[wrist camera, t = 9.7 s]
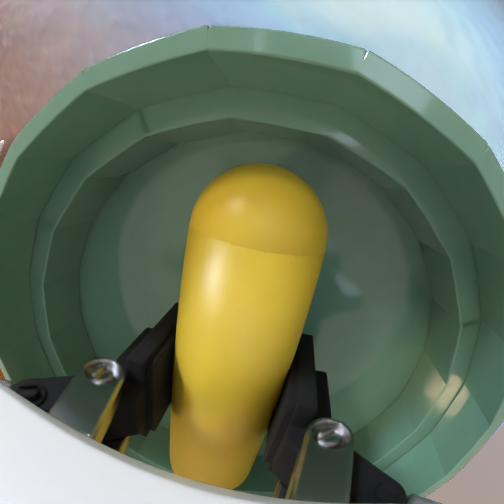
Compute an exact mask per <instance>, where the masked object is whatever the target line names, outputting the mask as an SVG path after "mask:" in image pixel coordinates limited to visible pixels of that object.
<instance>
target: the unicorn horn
mask: <svg viewBox="0 0 504 504" xmlns="http://www.w3.org/2000/svg"><path fill="white" fill-rule="evenodd" d="M3 145H4V140H2V141H1V142H0V154H1V150H2V148H3Z"/></svg>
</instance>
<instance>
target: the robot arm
mask: <svg viewBox="0 0 504 504" xmlns="http://www.w3.org/2000/svg"><path fill="white" fill-rule="evenodd" d="M178 306H179V303H178V302H176V303H175V304H174V305H173V307H172V308H171V309H170V310H169V311H168V312H167V313H166V314H165V315H164V316H163V317H162V319H161V320H160V321H159V322H158V323H157V324H156V325H155V326H154V327H153V328H149V327H148V328H146V329H145V330H144V331H143V332H142V333H141V334H140V335H139V336H138V337H137V338H136V339H135V340H134V341H133V342H132V343H131V344H130V346H129V347H128V348H127V349H126V350H125V351H124V352H123V353H122V354H121V355H120V356H119V357H118V358H117V359H116V361H115V360H113V359H110V358H105V357H97V358H92V359H90V360H88V361H86V362H85V363H84V364H83V365H82V366H81V367H80V368H79V370H78V371H77V373H76V374H75V375H72V376H61V377H48V378H32V379H24V380H21V381H19V382H17V383H16V384H15V385H14V384H13V381H9V380H3V379H0V504H441V503H438V502H435V501H432V500H429V499H427V498H424V497H421V496H418V495H416V494H413V493H412V494H411V495H406V493H405V490H404V488H403V487H402V485H400V484H399V483H398V482H397V481H396V480H394V479H393V478H391V477H390V476H388V475H387V474H386V473H384V472H383V471H381V470H380V469H379V468H377V467H376V466H375V465H373V464H372V463H370V462H369V461H368V460H366V459H365V458H364V457H362V456H361V455H360V454H358V453H357V452H356V451H354V435H353V433H352V431H351V429H350V428H349V427H348V426H347V425H346V424H344V423H343V422H341V421H339V420H336V419H333V418H332V416H331V406H330V397H329V388H328V379H327V373H326V372H323V371H317V370H315V357H314V345H313V336H312V335H308V334H303V333H302V334H301V337H300V340H299V343H298V346H297V349H296V352H295V355H294V358H293V361H292V364H291V367H290V369H289V372H288V375H287V378H286V381H285V384H284V386H283V389H282V392H281V395H280V397H279V400H278V403H277V406H276V408H275V411H274V413H273V416H272V419H271V421H270V424H269V426H268V431H267V438H266V444H265V451H264V457H263V462H268V469H267V471H271V472H272V473H273V474H274V475H275V476H276V477H277V478H278V479H279V480H278V481H277V484H276V487H275V490H274V493H273V496H272V497H267V496H261V495H255V494H250V493H244V492H240V491H235V490H230V489H226V488H222V487H218V486H214V485H210V484H206V483H203V482H199V481H196V480H192V479H189V478H186V477H182V476H179V475H176V474H173V473H170V472H167V471H165V470H162V469H159V468H156V467H154V466H151V465H149V464H146V463H143V462H141V461H139V460H136V459H134V458H131V457H129V456H127V455H125V454H126V451H127V448H128V445H129V443H130V440H131V436H133V435H138V434H140V435H142V436H145V437H147V435H148V433H149V431H150V430H152V431H155V430H156V429H157V427H158V425H159V423H160V421H161V420H162V418H163V416H164V414H165V412H166V411H167V409H168V407H169V405H170V403H171V394H172V377H173V362H174V349H175V337H176V326H177V316H178Z"/></svg>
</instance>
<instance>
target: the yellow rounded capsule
mask: <svg viewBox="0 0 504 504" xmlns="http://www.w3.org/2000/svg"><path fill="white" fill-rule="evenodd" d="M327 240H328V228H327V219H326V215H325V211H324V208H323V206H322V204H321V202H320V200H319V198H318V196H317V194H316V193H315V192H314V190H313V189H312V188H311V187H310V185H309V184H308V183H307V182H305V181H304V180H303V179H302V178H301V177H300V176H298V175H297V174H295V173H293V172H291V171H289V170H288V169H286V168H283V167H279V166H276V165H273V164H265V163H252V164H244V165H241V166H237V167H234V168H231V169H229V170H227V171H225V172H224V173H222V174H220V175H218V176H217V177H216V178H215V179H214V180H212V181H211V182H210V183H209V184H208V185H207V186H206V188H205V189H204V190H203V191H202V193H201V194H200V195H199V197H198V199H197V201H196V203H195V205H194V208H193V211H192V215H191V219H190V222H189V228H188V235H187V242H186V249H185V256H184V264H183V272H182V280H181V288H180V297H179V306H178V316H177V326H176V337H175V349H174V362H173V377H172V394H171V417H170V462H171V467H172V469H173V471H174V473H175V474H176V475H179V476H182V477H186V478H189V479H192V480H196V481H199V482H203V483H206V484H210V485H214V486H218V487H222V488H226V489H230V490H233V489H234V488H236V487H238V486H239V485H240V484H242V483H243V482H244V480H245V479H246V478H247V476H248V475H249V473H250V470H251V468H252V466H253V464H254V461H255V459H256V456H257V454H258V452H259V449H260V447H261V444H262V442H263V439H264V437H265V435H266V432H267V429H268V426H269V424H270V421H271V419H272V416H273V413H274V411H275V408H276V406H277V403H278V400H279V397H280V395H281V392H282V389H283V386H284V384H285V381H286V378H287V375H288V372H289V369H290V367H291V364H292V361H293V358H294V355H295V352H296V349H297V346H298V343H299V340H300V337H301V334H302V331H303V328H304V325H305V321H306V318H307V315H308V312H309V308H310V305H311V302H312V298H313V295H314V292H315V288H316V285H317V281H318V278H319V274H320V271H321V267H322V263H323V260H324V256H325V252H326V246H327Z"/></svg>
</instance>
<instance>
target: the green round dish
mask: <svg viewBox="0 0 504 504" xmlns="http://www.w3.org/2000/svg"><path fill="white" fill-rule="evenodd" d="M252 163H265V164H273V165H276V166H279V167H283V168H286V169H288V170H289V171H291V172H293V173H295V174H297V175H298V176H300V177H301V178H302V179H303V180H304V181H305V182H307V183H308V184H309V185H310V187H311V188H312V189H313V190H314V192H315V193H316V194H317V196H318V198H319V200H320V202H321V204H322V206H323V208H324V211H325V215H326V219H327V228H328V240H327V246H326V252H325V256H324V260H323V263H322V267H321V271H320V274H319V278H318V281H317V285H316V288H315V292H314V295H313V298H312V302H311V305H310V308H309V312H308V315H307V318H306V321H305V325H304V328H303V331H302V333H303V334H308V335H312V336H313V345H314V357H315V370H317V371H323V372H326V373H327V379H328V388H329V397H330V406H331V416H332V418H333V419H336V420H339V421H341V422H343V423H344V424H346V425H347V426H348V427H349V428H350V429H351V431H352V433H353V435H354V451H356V452H357V453H358V454H360V455H361V456H362V457H364V458H365V459H366V460H368V461H369V462H370V463H372V464H373V465H375V466H376V467H377V468H379V469H380V470H381V471H383V472H384V473H386V474H387V475H388V476H390V477H391V478H393V479H394V480H396V481H397V482H398V483H399V484H400V485H402V487H403V488H404V490H405V493H406V495H411V494H412V493H413V494H416V495H418V496H421V497H426V496H427V495H429V494H431V493H432V492H434V491H435V490H436V489H438V488H439V487H441V486H442V485H443V484H445V483H446V482H448V481H449V480H451V479H452V478H453V477H454V476H455V475H457V474H458V473H459V472H460V471H461V470H462V469H463V468H464V467H465V465H467V464H468V462H469V461H470V460H471V459H472V458H473V457H474V456H475V455H476V453H478V451H479V450H480V449H481V448H482V447H483V446H484V445H485V443H486V442H487V441H488V440H489V439H490V437H491V436H492V435H493V434H494V432H495V431H496V430H497V429H498V427H499V426H500V425H501V423H502V422H503V420H504V172H503V170H502V168H501V166H500V164H499V163H498V161H497V159H496V157H495V155H494V153H493V152H492V150H491V148H490V147H489V146H488V145H487V142H486V141H485V140H484V139H483V138H482V137H481V136H480V135H479V134H478V133H477V132H476V131H475V130H474V129H473V128H472V127H471V126H469V125H468V124H467V123H466V122H465V121H464V120H463V119H462V118H461V117H460V116H459V115H457V114H456V113H455V112H454V111H453V110H452V109H451V108H449V107H448V106H447V105H446V104H445V103H444V102H442V101H441V100H440V99H439V98H437V97H436V96H435V95H434V94H432V93H431V92H430V91H429V90H427V89H426V88H425V87H423V86H422V85H421V84H419V83H418V82H417V81H415V80H414V79H412V78H411V77H410V76H408V75H407V74H405V73H404V72H402V71H401V70H400V69H398V68H397V67H395V66H394V65H392V64H390V63H389V62H387V61H386V60H384V59H383V58H381V57H379V56H378V55H376V54H374V53H373V52H371V51H366V50H365V49H363V48H359V47H356V46H352V45H348V44H345V43H341V42H337V41H332V40H328V39H324V38H319V37H314V36H309V35H304V34H298V33H292V32H286V31H279V30H271V29H262V28H252V27H240V26H222V25H211V26H208V25H205V26H201V27H197V28H193V29H189V30H185V31H182V32H178V33H175V34H171V35H168V36H165V37H162V38H159V39H155V40H153V41H150V42H147V43H144V44H141V45H138V46H136V47H133V48H130V49H128V50H125V51H123V52H120V53H118V54H115V55H113V56H111V57H108V58H106V59H104V60H102V61H99V62H97V63H95V64H93V65H91V66H89V67H87V68H85V69H84V70H82V71H81V72H79V73H78V74H77V75H76V76H75V77H74V78H73V79H71V80H70V81H69V82H68V83H67V84H66V85H65V86H64V87H63V88H62V89H61V90H60V91H59V92H57V93H56V94H55V95H54V96H53V97H52V98H51V99H50V100H49V101H48V102H47V103H46V104H45V105H44V106H43V107H42V109H41V110H40V111H39V112H38V113H37V114H36V115H35V116H34V117H33V118H32V119H31V120H30V122H29V123H28V124H27V125H26V126H25V127H24V128H23V130H22V131H21V132H20V133H19V134H18V135H17V137H16V138H15V139H14V140H13V143H12V144H11V146H10V148H9V150H8V152H7V154H6V156H5V158H4V161H3V163H2V165H1V168H0V368H1V371H2V373H3V375H4V377H5V379H6V380H9V381H13V384H14V385H15V384H16V383H17V382H19V381H21V380H24V379H32V378H48V377H61V376H72V375H75V374H76V373H77V371H78V370H79V368H80V367H81V366H82V365H83V364H84V363H85V362H86V361H88V360H90V359H92V358H97V357H105V358H110V359H113V360H115V361H116V359H117V358H118V357H119V356H120V355H121V354H122V353H123V352H124V351H125V350H126V349H127V348H128V347H129V346H130V344H131V343H132V342H133V341H134V340H135V339H136V338H137V337H138V336H139V335H140V334H141V333H142V332H143V331H144V330H145V329H146V328H148V327H149V328H153V327H154V326H155V325H156V324H157V323H158V322H159V321H160V320H161V319H162V317H163V316H164V315H165V314H166V313H167V312H168V311H169V310H170V309H171V308H172V307H173V305H174V304H175V303H176V302H178V303H179V297H180V288H181V280H182V272H183V264H184V256H185V249H186V242H187V235H188V228H189V222H190V219H191V215H192V211H193V208H194V205H195V203H196V201H197V199H198V197H199V195H200V194H201V193H202V191H203V190H204V189H205V188H206V186H207V185H208V184H209V183H210V182H211V181H212V180H214V179H215V178H216V177H217V176H218V175H220V174H222V173H224V172H225V171H227V170H229V169H231V168H234V167H237V166H241V165H244V164H252ZM170 417H171V403H170V405H169V407H168V409H167V411H166V412H165V414H164V416H163V418H162V420H161V421H160V423H159V425H158V427H157V429H156V430H155V431H152V430H150V431H149V433H148V435H147V437H145V436H142V435H140V434H138V435H133V436H131V440H130V443H129V445H128V448H127V451H126V454H125V455H127V456H129V457H131V458H134V459H136V460H139V461H141V462H143V463H146V464H149V465H151V466H154V467H156V468H159V469H162V470H165V471H167V472H170V473H173V474H175V473H174V471H173V469H172V467H171V462H170ZM267 431H268V429H267ZM266 438H267V432H266V435H265V437H264V439H263V442H262V444H261V447H260V449H259V452H258V454H257V456H256V459H255V461H254V464H253V466H252V468H251V470H250V473H249V475H248V476H247V478H246V479H245V480H244V482H243V483H242V484H240V485H239V486H238V487H236V488H234V489H233V490H235V491H240V492H244V493H250V494H255V495H261V496H267V497H272V496H273V493H274V490H275V487H276V484H277V481H278V480H279V479H278V478H277V477H276V476H275V475H274V474H273V473H272V472H271V471H267V469H268V462H263V457H264V451H265V444H266Z"/></svg>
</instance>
